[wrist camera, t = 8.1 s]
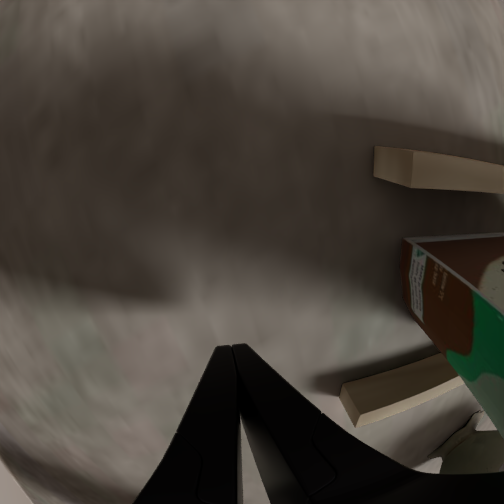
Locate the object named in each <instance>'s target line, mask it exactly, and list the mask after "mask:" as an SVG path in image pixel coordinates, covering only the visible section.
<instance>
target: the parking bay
mask: <svg viewBox="0 0 504 504" xmlns="http://www.w3.org/2000/svg"><path fill="white" fill-rule="evenodd" d="M373 176H374V177H377V178H381V179H384V180H387V181H391V182H394V183H397V184H400V185H403V186H406V187H409V188H423V189H445V190H461V191H476V192H488V193H499V194H504V166H502V165H498V164H494V163H489V162H484V161H479V160H474V159H469V158H463V157H458V156H452V155H446V154H439V153H433V152H426V151H418V150H410V149H402V148H392V147H382V146H374V173H373ZM462 384H464V381H463V380H462V379H461V377H460V376H459V375H458V373H457V372H456V371H455V370H454V368H453V367H452V366H451V364H450V363H449V362H448V360H447V359H446V358H445V357H444V355H443V354H442V353H439V354H436V355H433V356H431V357H428V358H425V359H423V360H420V361H417V362H414V363H411V364H408V365H405V366H402V367H399V368H396V369H393V370H390V371H387V372H383V373H380V374H377V375H373V376H370V377H366V378H362V379H359V380H355V381H351V382H347V383H343V384H342V388H341V392H340V396H339V398H340V400H341V402H342V404H343V406H344V408H345V410H346V412H347V414H348V415H349V417H350V419H351V421H352V423H353V425H354V427H355V428H357V427H360V426H363V425H367V424H370V423H372V422H375V421H378V420H381V419H384V418H387V417H389V416H392V415H395V414H397V413H400V412H402V411H405V410H407V409H410V408H412V407H415V406H417V405H419V404H422V403H424V402H426V401H429V400H431V399H433V398H435V397H437V396H439V395H442V394H444V393H446V392H448V391H450V390H452V389H454V388H456V387H458V386H460V385H462Z"/></svg>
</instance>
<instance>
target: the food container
mask: <svg viewBox="0 0 504 504" xmlns="http://www.w3.org/2000/svg"><path fill="white" fill-rule="evenodd" d="M399 268H400V276H401V285H402V295H403V299H404V301H405V303H406V305H407V307H408V309H409V311H410V313H411V315H412V317H413V319H414V320H415V321H416V322H417V323H418V325H419V326H420V327H421V328H422V329H423V331H424V332H425V333H426V334H427V335H428V337H429V338H430V339H431V340H432V342H433V343H434V344H435V345H436V347H437V348H438V349H439V350H440V352H441V353H442V354H443V355H444V357H445V358H446V359H447V360H448V362H449V363H450V364H451V366H452V367H453V368H454V370H455V371H456V372H457V373H458V375H459V376H460V377H461V379H462V380H463V381H464V383H465V384H466V385H467V387H468V388H469V390H470V391H471V392H472V394H473V395H474V396H475V398H476V399H477V401H478V402H479V403H480V405H481V406H482V408H483V409H484V411H485V412H486V413H487V415H488V416H489V418H490V419H491V421H492V422H493V424H494V425H495V427H496V428H497V430H498V431H499V433H500V434H501V436H502V437H503V439H504V232H497V233H478V234H460V235H442V236H425V237H407V238H402V246H401V256H400V265H399ZM501 471H504V463H503V465H502V466H501V467H500V468H499V472H501Z"/></svg>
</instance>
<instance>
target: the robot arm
mask: <svg viewBox="0 0 504 504" xmlns="http://www.w3.org/2000/svg"><path fill="white" fill-rule="evenodd" d="M240 416H241V420H242V424H243V427H244V430H245V433H246V436H247V439H248V442H249V445H250V448H251V451H252V453H253V456H254V459H255V462H256V465H257V468H258V471H259V473H260V476H261V479H262V482H263V484H264V487H265V490H266V492H267V495H268V498H269V500H270V503H271V504H504V471H501V472H492V473H475V474H433V473H424V472H420V471H416V470H413V469H410V468H408V467H406V466H404V465H402V464H400V463H398V462H396V461H394V460H393V459H391V458H389V457H387V456H385V455H384V454H382V453H380V452H378V451H377V450H375V449H373V448H372V447H370V446H368V445H367V444H365V443H363V442H362V441H360V440H359V439H357V438H356V437H354V436H353V435H351V434H349V433H348V432H347V431H345V430H344V429H343V428H341V427H340V426H339V425H337V424H336V423H335V422H334V421H332V420H331V419H330V418H329V417H328V416H326V415H325V414H324V413H322V414H321V411H320V410H319V409H318V408H317V407H316V406H315V405H313V404H312V403H311V402H310V401H309V400H308V399H306V398H305V397H304V396H303V395H302V394H301V393H300V392H298V391H297V390H296V389H295V388H294V387H293V386H292V385H291V384H289V383H288V382H287V381H286V380H285V379H284V378H283V377H282V376H281V375H279V374H278V373H277V372H276V371H275V370H274V369H273V368H272V367H271V366H270V365H269V364H268V363H266V362H265V361H264V360H263V359H262V358H261V357H260V356H259V355H258V354H257V353H256V352H255V351H254V350H253V349H252V348H251V347H249V346H248V345H247V344H245V343H243V344H234V345H232V346H230V345H223V346H217V347H216V348H215V349H214V351H213V354H212V356H211V358H210V360H209V362H208V364H207V367H206V369H205V371H204V373H203V375H202V377H201V379H200V382H199V384H198V386H197V388H196V390H195V392H194V394H193V397H192V399H191V401H190V403H189V405H188V407H187V409H186V412H185V414H184V416H183V418H182V420H181V422H180V424H179V427H178V429H177V433H175V435H174V437H173V439H172V441H171V443H170V445H169V447H168V449H167V451H166V453H165V455H164V457H163V459H162V460H161V462H160V463H159V465H158V467H157V468H156V470H155V471H154V473H153V475H152V476H151V478H150V479H149V480H148V482H147V483H146V485H145V486H144V488H143V489H142V490H141V492H140V493H139V495H138V496H137V498H136V499H135V500H134V502H133V503H132V504H243V483H242V454H241V423H240Z"/></svg>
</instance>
